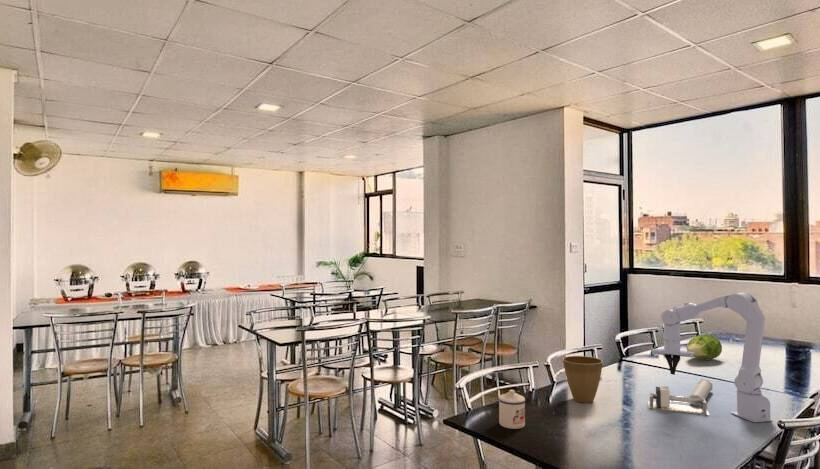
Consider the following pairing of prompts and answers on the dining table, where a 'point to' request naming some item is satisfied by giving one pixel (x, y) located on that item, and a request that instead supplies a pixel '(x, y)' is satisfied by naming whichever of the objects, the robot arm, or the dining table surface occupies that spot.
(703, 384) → the tube
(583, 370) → the plant pot
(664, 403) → the sleeve
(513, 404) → the teacup with lid
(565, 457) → the dining table surface
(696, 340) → the lettuce
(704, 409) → the rod rig
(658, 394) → the dark gray slab
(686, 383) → the dining table surface
